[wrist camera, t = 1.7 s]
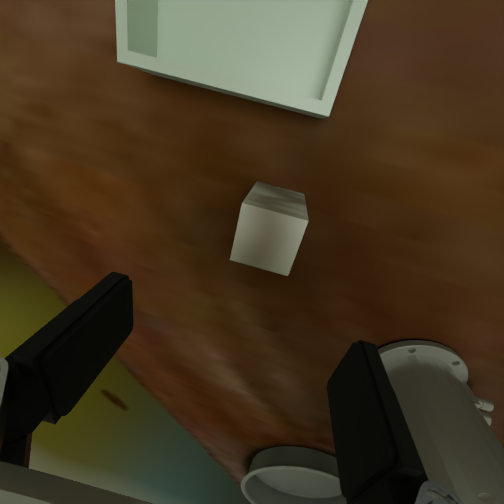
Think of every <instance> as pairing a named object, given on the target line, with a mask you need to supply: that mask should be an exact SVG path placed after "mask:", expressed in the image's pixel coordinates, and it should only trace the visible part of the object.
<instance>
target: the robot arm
mask: <svg viewBox="0 0 504 504" xmlns="http://www.w3.org/2000/svg"><path fill="white" fill-rule="evenodd" d="M132 329H133V297H132V281H131V280H129V277H128V276H127V275H124V274H120V273H116V272H111V273H110V274H109V275H107V276H106V277H105V278H104V279H102V280H101V281H100V282H99V283H98V284H96V285H95V286H94V287H93V288H92V289H90V290H89V291H88V292H87V293H86V294H84V295H83V296H82V297H81V298H80V299H77V300H76V301H74V302H73V303H72V304H70V305H69V306H68V307H67V308H66V309H64V310H63V311H62V312H61V313H59V314H58V315H57V316H56V317H55V318H53V319H52V320H51V321H50V322H48V323H47V324H46V325H45V326H44V327H42V328H41V329H40V330H39V331H37V332H36V333H35V334H34V335H33V336H31V337H30V338H29V339H28V340H26V341H25V342H24V343H23V344H22V345H20V346H19V347H18V348H17V349H16V350H14V351H13V352H12V353H11V354H9V355H8V356H7V357H6V358H5V359H4V358H2V357H0V504H152V503H149V502H145V501H142V500H138V499H135V498H131V497H128V496H125V495H121V494H118V493H114V492H111V491H107V490H104V489H100V488H97V487H93V486H90V485H86V484H83V483H80V482H76V481H73V480H69V479H66V478H62V477H59V476H55V475H51V474H48V473H44V472H40V471H36V470H32V469H29V460H30V451H31V442H32V432H33V431H34V430H35V429H36V427H37V426H38V425H39V424H40V423H41V421H45V422H49V423H53V424H56V423H57V421H58V420H59V419H60V417H61V416H65V415H67V414H68V413H69V412H70V411H71V410H72V409H73V407H74V406H75V405H76V404H77V402H78V401H79V400H80V398H81V397H82V396H83V394H84V393H85V392H86V391H87V389H88V388H89V387H90V385H91V384H92V383H93V381H94V380H95V379H96V377H97V376H98V375H99V373H100V372H101V371H102V369H103V368H104V367H105V366H106V364H107V363H108V362H109V361H110V359H111V358H112V357H113V355H114V354H115V353H116V351H117V350H118V349H119V348H120V346H121V345H122V344H123V342H124V341H125V340H126V338H127V337H128V336H129V334H130V333H131V331H132ZM467 380H468V370H467V366H466V365H465V363H464V362H463V360H462V359H461V358H460V356H459V355H458V354H457V353H456V352H455V351H453V350H452V349H451V348H449V347H446V346H444V345H442V344H439V343H435V342H431V341H424V340H408V341H400V342H396V343H392V344H389V345H386V346H384V347H381V348H380V349H377V347H376V345H375V344H372V343H369V342H365V341H361V340H359V341H358V342H357V343H355V342H354V343H353V344H352V345H351V347H350V348H349V350H348V351H347V353H346V354H345V356H344V357H343V359H342V360H341V362H340V364H339V365H338V367H337V368H336V370H335V371H334V373H333V374H332V376H331V377H330V379H329V381H328V384H327V392H328V399H329V407H330V414H331V422H332V429H333V437H334V444H335V452H336V459H337V467H338V474H339V482H340V489H341V493H342V495H343V497H345V498H346V502H347V504H504V448H503V446H502V445H501V443H500V441H499V440H498V438H497V437H496V435H495V434H494V432H493V431H492V429H491V428H490V424H491V417H490V415H489V414H488V413H487V412H486V411H492V410H493V409H494V405H493V403H492V401H491V400H489V399H486V398H483V397H479V396H474V394H473V393H472V391H471V390H470V388H469V387H468V385H467V384H466V382H467ZM478 408H480V409H478ZM482 409H483V410H482ZM484 410H486V411H484Z"/></svg>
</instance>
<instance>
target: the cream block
mask: <svg viewBox="0 0 504 504" xmlns="http://www.w3.org/2000/svg"><path fill="white" fill-rule="evenodd" d="M307 224H308V215H307V208H306V201H305V195H304V194H302V193H298V192H295V191H291V190H287V189H284V188H280V187H276V186H273V185H269V184H265V183H262V182H258V181H257V182H256V183H255V185H254V186H253V188H252V189H251V191H250V192H249V194H248V195H247V197H246V198H245V199H244V201H243V202H242V206H241V210H240V215H239V220H238V224H237V229H236V234H235V238H234V243H233V248H232V252H231V257H230V260H232V261H236V262H239V263H243V264H246V265H250V266H253V267H257V268H261V269H264V270H268V271H271V272H275V273H278V274H282V275H285V276H288V275H289V272H290V270H291V267H292V264H293V262H294V259H295V256H296V253H297V251H298V248H299V245H300V243H301V240H302V237H303V235H304V232H305V229H306V226H307Z"/></svg>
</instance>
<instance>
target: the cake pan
mask: <svg viewBox="0 0 504 504" xmlns="http://www.w3.org/2000/svg"><path fill="white" fill-rule="evenodd" d="M241 489H242V492H243V494H244V495H245V497H246V498H247V499H248V500H249V501H250V502H251V503H252V504H347V502H346V498H345V497H343V495H342V493H341V489H340V482H339V474H338V467H337V459H336V458H335V457H333V456H331V455H328V454H326V453H323V452H320V451H317V450H313V449H309V448H303V447H294V446H281V447H273V448H269V449H266V450H263V451H261V452H259V453H258V454H257V455H256V456H255V457H254V458H253V460H252V463H251V466H250V469H249V473H248V474H246V475H245V476H244V478H243V479H242V482H241Z"/></svg>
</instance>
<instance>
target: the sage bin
mask: <svg viewBox="0 0 504 504" xmlns="http://www.w3.org/2000/svg"><path fill="white" fill-rule="evenodd" d="M367 2H368V0H115V7H116V34H117V61H118V62H120V63H123V64H126V65H128V66H131V67H134V68H136V69H139V70H142V71H144V72H147V73H150V74H152V75H156V76H160V77H163V78H167V79H171V80H175V81H179V82H183V83H186V84H190V85H194V86H198V87H202V88H206V89H209V90H213V91H217V92H221V93H225V94H229V95H232V96H236V97H240V98H244V99H248V100H252V101H255V102H259V103H263V104H267V105H271V106H274V107H278V108H282V109H286V110H290V111H294V112H297V113H301V114H305V115H309V116H313V117H317V118H320V119H323V118H326V117H329V114H330V111H331V108H332V105H333V103H334V100H335V97H336V94H337V91H338V88H339V85H340V82H341V79H342V76H343V73H344V70H345V67H346V64H347V61H348V58H349V55H350V52H351V49H352V46H353V43H354V40H355V37H356V34H357V31H358V28H359V25H360V22H361V19H362V16H363V13H364V10H365V8H366V5H367Z"/></svg>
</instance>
